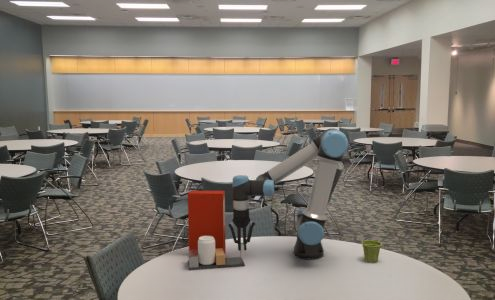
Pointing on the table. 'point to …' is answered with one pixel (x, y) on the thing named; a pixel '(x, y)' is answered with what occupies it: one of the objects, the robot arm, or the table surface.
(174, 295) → the table surface
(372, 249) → the plant pot
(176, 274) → the table surface
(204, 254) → the beverage can
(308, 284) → the table surface
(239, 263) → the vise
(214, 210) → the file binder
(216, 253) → the block
